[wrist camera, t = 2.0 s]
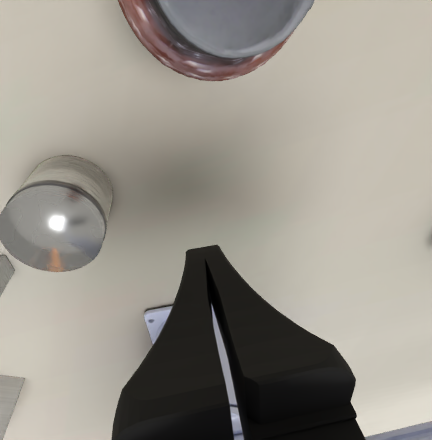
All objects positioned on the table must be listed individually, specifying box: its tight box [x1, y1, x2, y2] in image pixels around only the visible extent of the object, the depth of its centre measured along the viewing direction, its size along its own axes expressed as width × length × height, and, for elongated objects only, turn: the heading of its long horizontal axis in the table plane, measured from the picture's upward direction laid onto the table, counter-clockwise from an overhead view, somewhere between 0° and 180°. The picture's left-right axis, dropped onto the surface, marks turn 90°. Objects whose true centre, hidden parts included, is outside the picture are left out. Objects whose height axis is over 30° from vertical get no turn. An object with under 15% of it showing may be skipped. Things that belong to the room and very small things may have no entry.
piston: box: [0, 155, 113, 272], centre depth 18 cm, size 5×5×5 cm
